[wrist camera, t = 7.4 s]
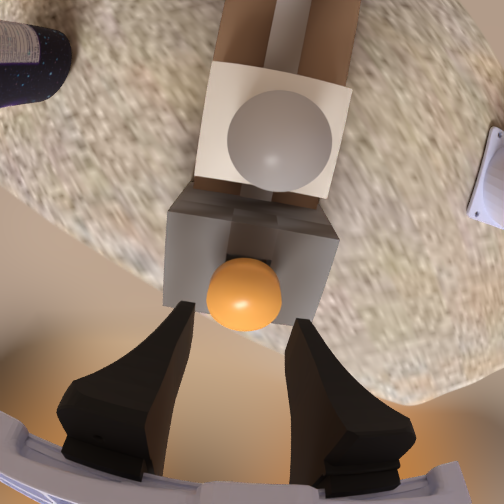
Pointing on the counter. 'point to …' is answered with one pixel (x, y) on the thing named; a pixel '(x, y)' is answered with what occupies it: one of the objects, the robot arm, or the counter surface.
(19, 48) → the beverage can
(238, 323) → the button
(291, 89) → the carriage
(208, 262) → the rail
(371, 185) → the counter surface
